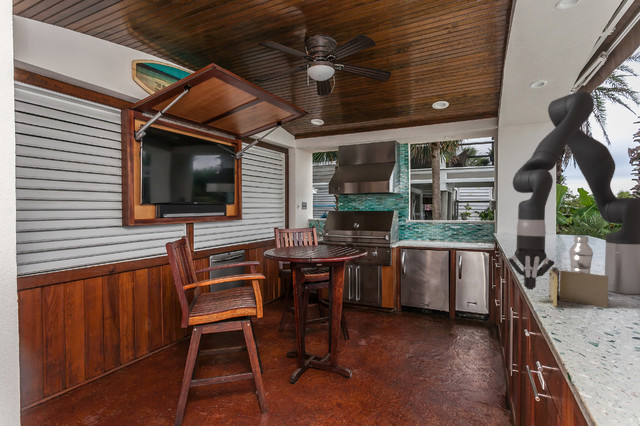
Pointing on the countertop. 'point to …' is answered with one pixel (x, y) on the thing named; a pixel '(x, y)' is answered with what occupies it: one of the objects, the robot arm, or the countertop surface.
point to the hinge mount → (582, 288)
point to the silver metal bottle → (581, 255)
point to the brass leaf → (553, 287)
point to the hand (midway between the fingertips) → (529, 288)
